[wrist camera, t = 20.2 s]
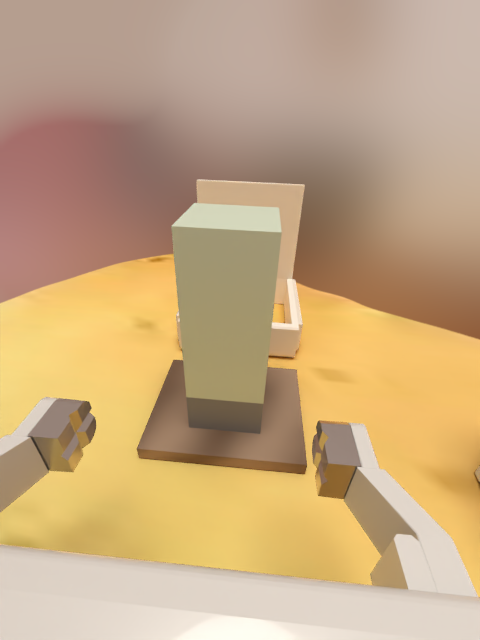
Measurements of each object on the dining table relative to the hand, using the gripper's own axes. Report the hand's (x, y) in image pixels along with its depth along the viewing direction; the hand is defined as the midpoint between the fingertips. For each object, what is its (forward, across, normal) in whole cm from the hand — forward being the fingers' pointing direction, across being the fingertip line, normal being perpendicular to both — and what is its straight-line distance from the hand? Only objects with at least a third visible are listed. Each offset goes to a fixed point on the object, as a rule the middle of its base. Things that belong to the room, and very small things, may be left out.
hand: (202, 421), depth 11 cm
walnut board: (+9, 0, +10) cm, 14 cm away
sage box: (+9, 0, +9) cm, 13 cm away
